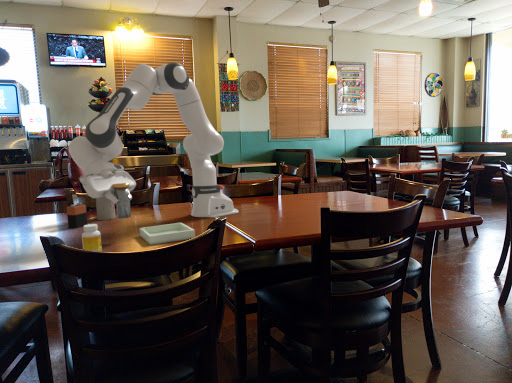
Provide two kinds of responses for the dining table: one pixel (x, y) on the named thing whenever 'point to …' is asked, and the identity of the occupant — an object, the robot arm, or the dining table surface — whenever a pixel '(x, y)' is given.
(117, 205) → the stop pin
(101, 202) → the thermos bottle
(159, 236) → the tray
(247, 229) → the dining table surface
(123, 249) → the dining table surface
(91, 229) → the supplement bottle
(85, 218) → the battery
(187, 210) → the dining table surface
